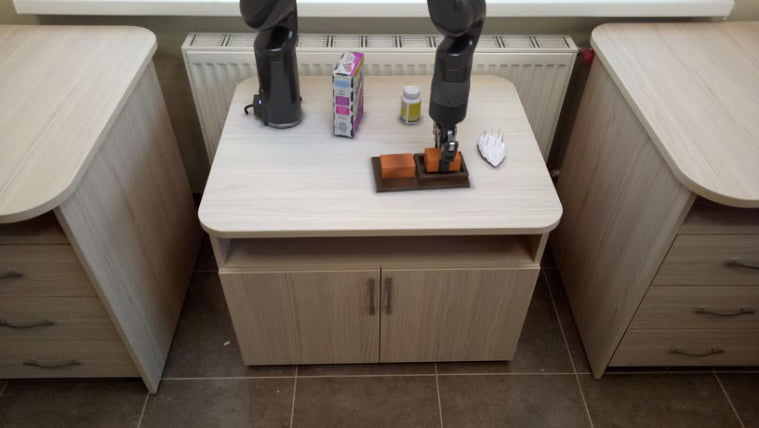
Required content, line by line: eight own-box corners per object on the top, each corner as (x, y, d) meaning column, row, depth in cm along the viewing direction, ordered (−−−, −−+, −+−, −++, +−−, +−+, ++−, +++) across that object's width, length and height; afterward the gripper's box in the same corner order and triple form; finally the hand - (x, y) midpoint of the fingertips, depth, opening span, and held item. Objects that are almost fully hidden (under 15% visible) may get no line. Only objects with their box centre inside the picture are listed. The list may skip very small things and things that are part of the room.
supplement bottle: (422, 117, 134) (425, 87, 129) (415, 126, 131) (417, 96, 126) (404, 112, 136) (406, 82, 130) (397, 121, 133) (398, 91, 127)
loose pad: (427, 172, 115) (428, 160, 113) (423, 159, 119) (424, 148, 117) (459, 170, 116) (461, 159, 114) (455, 157, 119) (456, 146, 117)
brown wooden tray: (376, 192, 114) (376, 178, 111) (371, 160, 121) (371, 145, 119) (469, 187, 115) (472, 172, 113) (459, 155, 123) (461, 141, 121)
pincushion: (473, 135, 129) (477, 115, 125) (499, 135, 129) (503, 115, 125) (481, 167, 120) (485, 146, 117) (508, 167, 121) (513, 146, 117)
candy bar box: (354, 138, 127) (353, 76, 116) (333, 136, 128) (330, 73, 117) (364, 113, 135) (364, 52, 124) (345, 110, 136) (343, 49, 125)
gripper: (424, 76, 110) (418, 145, 122) (437, 116, 100) (429, 186, 112) (460, 75, 111) (451, 143, 123) (477, 114, 101) (465, 184, 112)
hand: (441, 163), depth 117 cm, fingers closed on loose pad, 4 cm apart
